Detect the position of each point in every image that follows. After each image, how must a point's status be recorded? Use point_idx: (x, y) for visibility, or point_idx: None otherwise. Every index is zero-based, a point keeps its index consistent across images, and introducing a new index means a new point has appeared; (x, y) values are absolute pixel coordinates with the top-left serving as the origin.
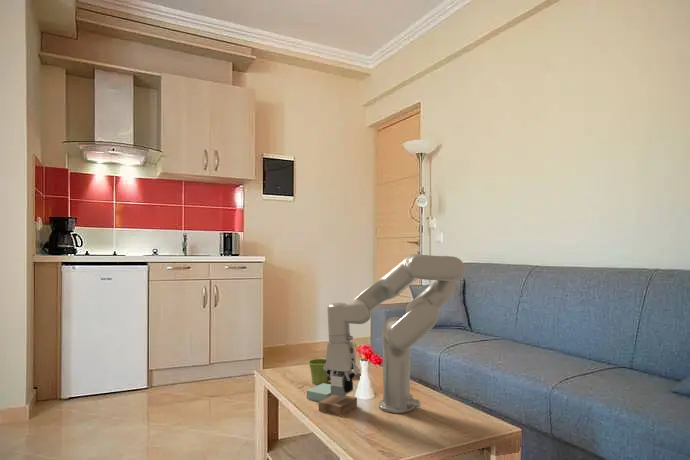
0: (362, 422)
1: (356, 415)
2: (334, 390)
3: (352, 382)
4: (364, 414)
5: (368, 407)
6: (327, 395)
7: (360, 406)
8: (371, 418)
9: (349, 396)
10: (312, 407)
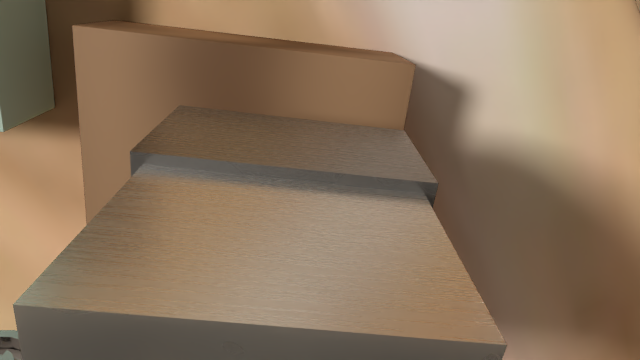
0: (539, 349)
1: (461, 261)
2: None
3: (432, 199)
4: (519, 215)
5: (516, 33)
6: (10, 109)
7: (429, 42)
8: (591, 263)
9: (308, 63)
10: (21, 267)
